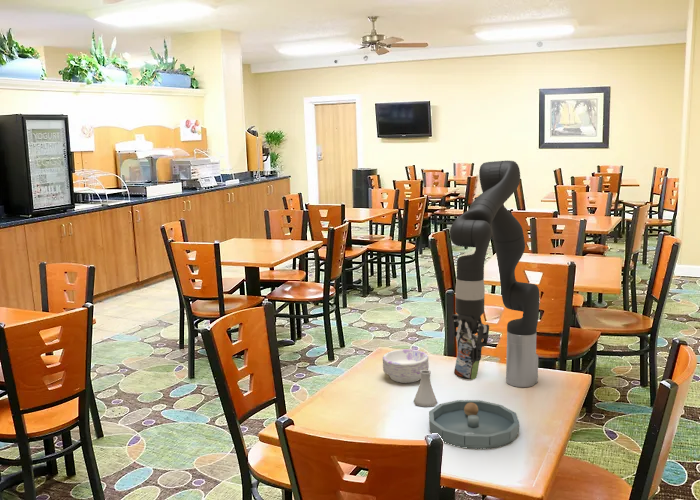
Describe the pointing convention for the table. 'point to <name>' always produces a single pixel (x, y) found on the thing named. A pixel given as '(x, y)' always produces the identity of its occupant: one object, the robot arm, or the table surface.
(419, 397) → the flask
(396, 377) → the paper bowls
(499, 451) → the table surface
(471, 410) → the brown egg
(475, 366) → the beverage can
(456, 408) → the tray
